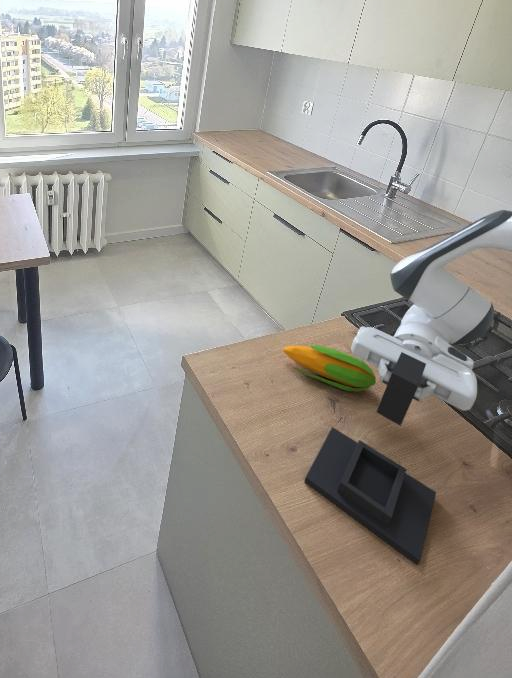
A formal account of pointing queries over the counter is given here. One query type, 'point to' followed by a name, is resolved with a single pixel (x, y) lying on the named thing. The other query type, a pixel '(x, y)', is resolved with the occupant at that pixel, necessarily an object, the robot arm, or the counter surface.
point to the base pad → (373, 492)
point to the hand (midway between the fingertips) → (400, 389)
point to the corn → (333, 366)
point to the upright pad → (401, 388)
